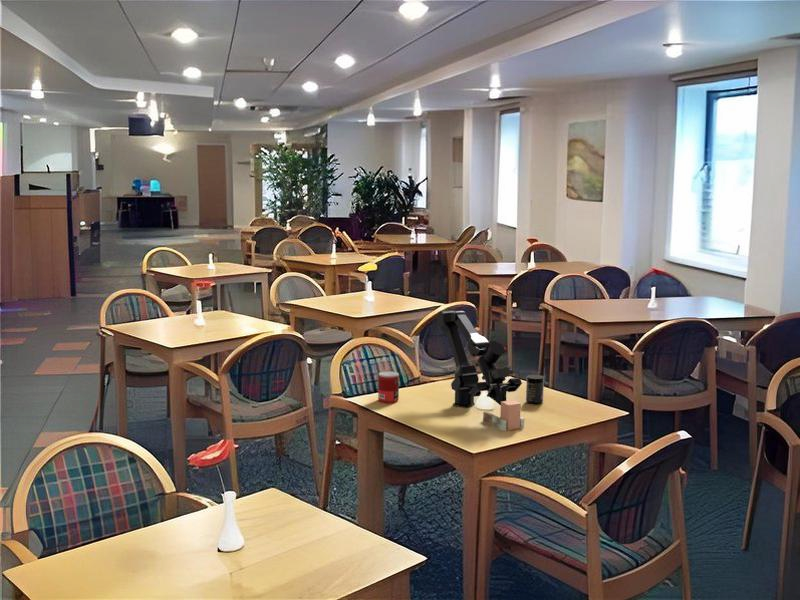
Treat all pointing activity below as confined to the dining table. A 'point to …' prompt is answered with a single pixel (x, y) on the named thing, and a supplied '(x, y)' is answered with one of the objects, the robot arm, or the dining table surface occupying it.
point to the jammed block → (511, 414)
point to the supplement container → (534, 389)
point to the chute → (498, 421)
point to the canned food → (388, 387)
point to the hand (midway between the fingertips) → (505, 407)
